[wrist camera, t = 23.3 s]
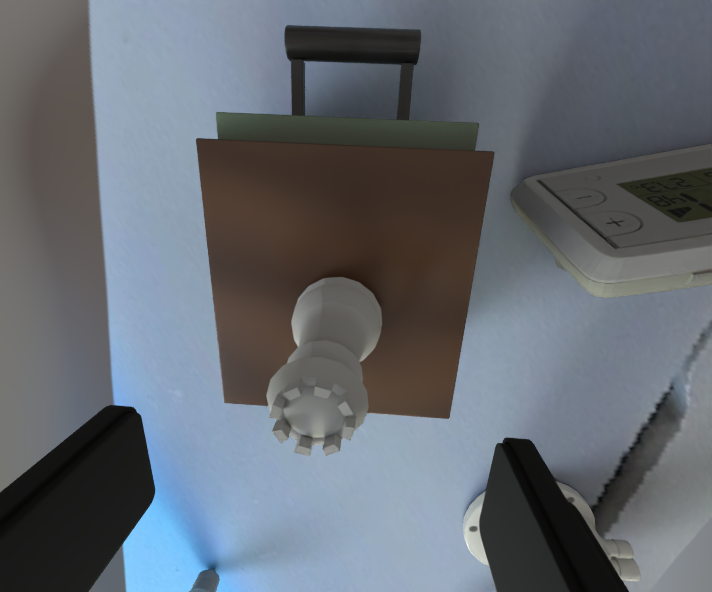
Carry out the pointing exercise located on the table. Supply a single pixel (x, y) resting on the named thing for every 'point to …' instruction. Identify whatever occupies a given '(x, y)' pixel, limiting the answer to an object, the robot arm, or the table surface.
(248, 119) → the drawer
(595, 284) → the digital clock
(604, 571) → the robot arm
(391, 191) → the cabinet
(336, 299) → the rook chess piece
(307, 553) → the table surface
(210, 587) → the lightbulb
